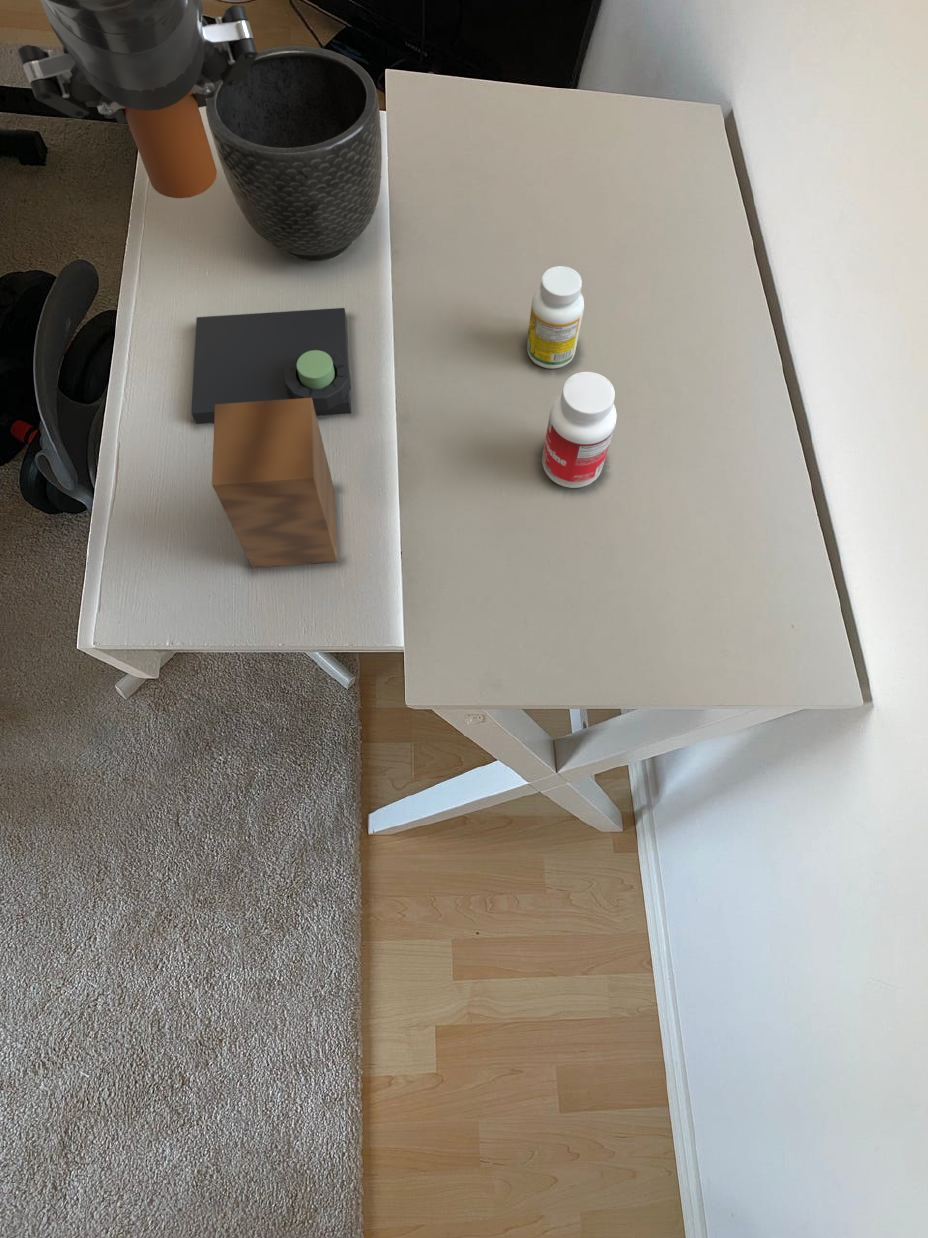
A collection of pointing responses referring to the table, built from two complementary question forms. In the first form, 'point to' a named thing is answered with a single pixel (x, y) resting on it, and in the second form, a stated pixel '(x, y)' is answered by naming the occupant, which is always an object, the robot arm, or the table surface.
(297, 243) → the planter
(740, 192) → the table surface
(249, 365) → the scale
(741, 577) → the table surface
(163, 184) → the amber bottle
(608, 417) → the pill bottle
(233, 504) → the oak stand
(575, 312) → the supplement bottle
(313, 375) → the button
